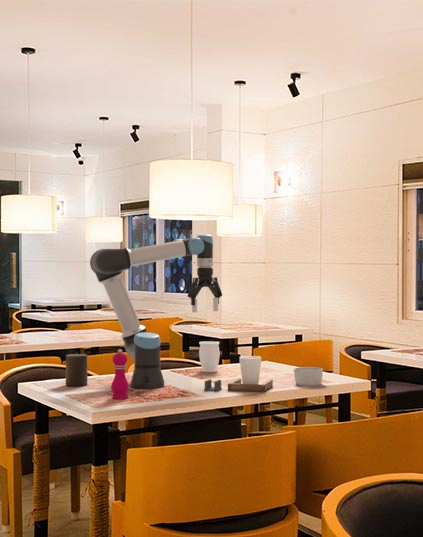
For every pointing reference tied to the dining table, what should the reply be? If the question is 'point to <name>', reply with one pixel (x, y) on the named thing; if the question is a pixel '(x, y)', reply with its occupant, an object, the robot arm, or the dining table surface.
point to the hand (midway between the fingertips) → (205, 311)
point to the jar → (209, 356)
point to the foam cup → (250, 369)
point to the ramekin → (308, 376)
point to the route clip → (209, 388)
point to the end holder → (249, 386)
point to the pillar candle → (76, 370)
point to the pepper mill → (120, 377)
